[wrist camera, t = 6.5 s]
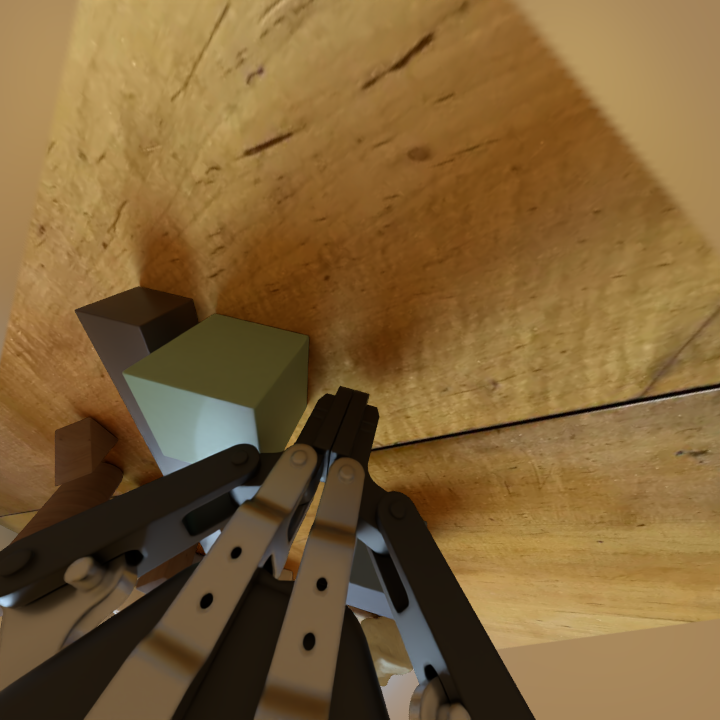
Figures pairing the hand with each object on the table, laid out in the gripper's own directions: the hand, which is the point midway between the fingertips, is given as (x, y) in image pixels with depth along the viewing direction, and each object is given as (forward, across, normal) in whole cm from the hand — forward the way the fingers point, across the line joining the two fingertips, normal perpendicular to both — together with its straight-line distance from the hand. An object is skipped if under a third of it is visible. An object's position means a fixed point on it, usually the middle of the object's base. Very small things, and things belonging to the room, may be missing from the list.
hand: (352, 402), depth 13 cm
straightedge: (+1, +10, +16) cm, 19 cm away
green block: (+1, +5, 0) cm, 5 cm away
